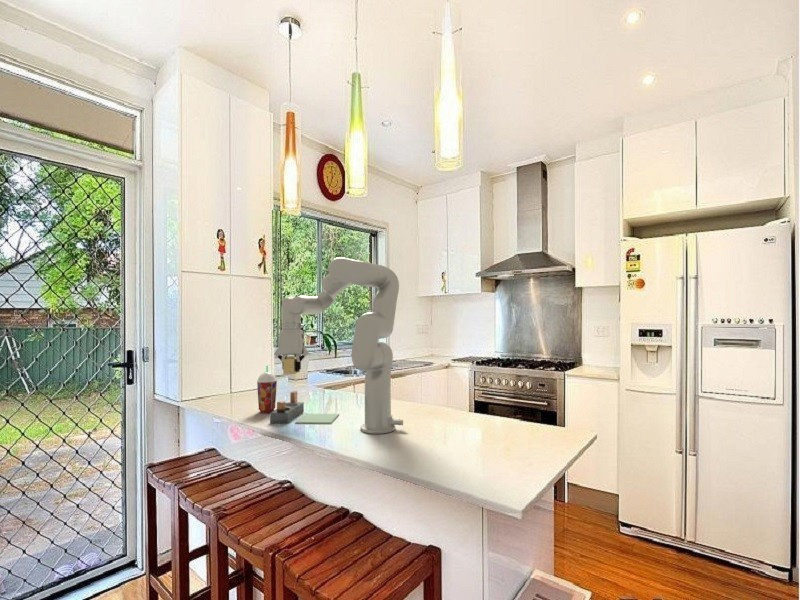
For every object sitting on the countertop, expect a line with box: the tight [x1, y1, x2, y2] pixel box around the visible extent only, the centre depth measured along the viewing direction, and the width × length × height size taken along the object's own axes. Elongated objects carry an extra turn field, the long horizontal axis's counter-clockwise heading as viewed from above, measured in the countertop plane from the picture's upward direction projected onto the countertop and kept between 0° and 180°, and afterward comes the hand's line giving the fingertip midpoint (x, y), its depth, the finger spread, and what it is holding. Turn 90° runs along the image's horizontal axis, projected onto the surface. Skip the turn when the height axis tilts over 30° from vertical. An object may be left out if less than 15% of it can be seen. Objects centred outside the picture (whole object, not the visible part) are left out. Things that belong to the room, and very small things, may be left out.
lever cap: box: [282, 355, 301, 375], centre depth 167 cm, size 4×7×7 cm, turn 176°
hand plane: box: [269, 390, 305, 425], centre depth 167 cm, size 7×20×9 cm, turn 176°
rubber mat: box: [295, 413, 340, 425], centre depth 163 cm, size 14×14×1 cm
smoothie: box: [256, 365, 278, 414], centre depth 177 cm, size 8×8×20 cm
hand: (291, 371), depth 167 cm, fingers closed on lever cap, 4 cm apart
